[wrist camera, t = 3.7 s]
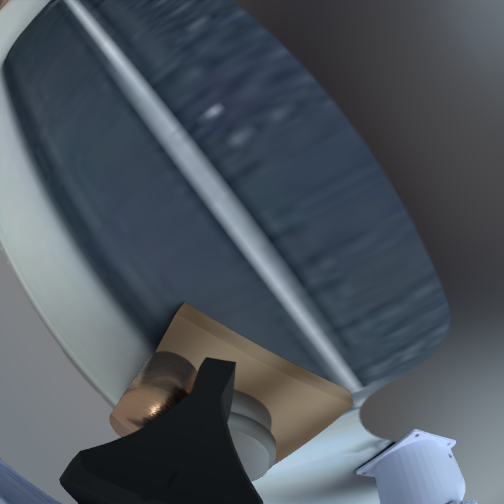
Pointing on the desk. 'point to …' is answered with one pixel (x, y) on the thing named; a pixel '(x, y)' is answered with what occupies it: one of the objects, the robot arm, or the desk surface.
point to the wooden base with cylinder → (259, 391)
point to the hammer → (153, 392)
